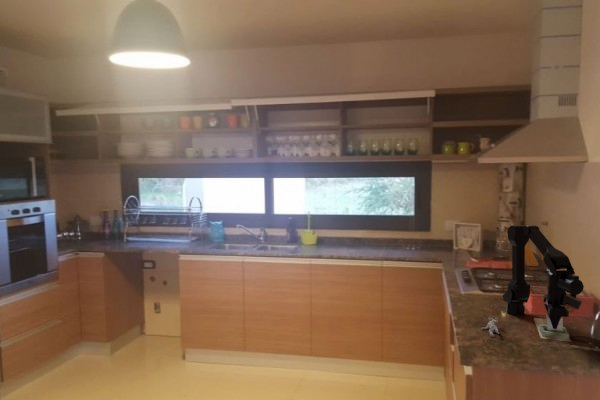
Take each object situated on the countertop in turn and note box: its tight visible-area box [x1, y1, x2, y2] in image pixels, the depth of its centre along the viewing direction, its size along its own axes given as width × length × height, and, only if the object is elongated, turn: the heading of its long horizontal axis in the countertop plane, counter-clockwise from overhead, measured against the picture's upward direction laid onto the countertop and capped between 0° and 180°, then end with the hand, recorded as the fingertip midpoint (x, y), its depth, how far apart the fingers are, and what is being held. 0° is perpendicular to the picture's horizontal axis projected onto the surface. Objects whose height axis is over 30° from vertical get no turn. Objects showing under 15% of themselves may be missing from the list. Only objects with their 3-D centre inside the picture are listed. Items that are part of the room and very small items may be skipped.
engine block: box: [545, 313, 564, 332], centre depth 175 cm, size 5×4×5 cm
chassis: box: [533, 317, 572, 344], centre depth 181 cm, size 10×23×3 cm, turn 159°
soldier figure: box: [480, 316, 500, 338], centre depth 181 cm, size 8×5×12 cm
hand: (553, 326), depth 175 cm, fingers closed on engine block, 4 cm apart
